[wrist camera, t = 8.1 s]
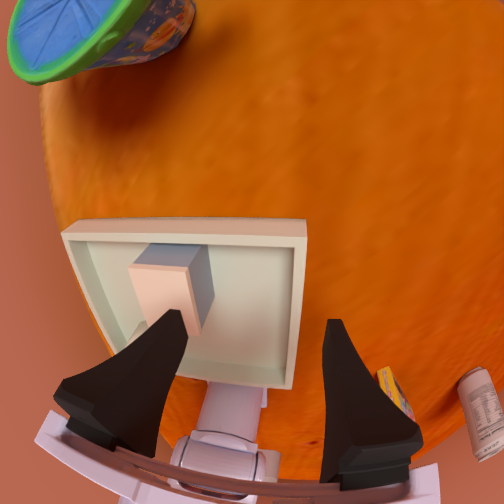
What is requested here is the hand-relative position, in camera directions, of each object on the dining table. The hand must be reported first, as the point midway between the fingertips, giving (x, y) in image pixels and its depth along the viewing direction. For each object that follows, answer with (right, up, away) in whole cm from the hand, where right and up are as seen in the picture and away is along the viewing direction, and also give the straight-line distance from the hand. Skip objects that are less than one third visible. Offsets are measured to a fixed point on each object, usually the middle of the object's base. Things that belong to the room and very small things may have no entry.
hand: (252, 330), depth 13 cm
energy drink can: (+35, -16, +15) cm, 41 cm away
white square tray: (-6, -1, +14) cm, 15 cm away
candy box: (+21, -16, +18) cm, 32 cm away
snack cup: (-7, +21, +1) cm, 23 cm away
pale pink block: (-6, +2, +11) cm, 12 cm away
